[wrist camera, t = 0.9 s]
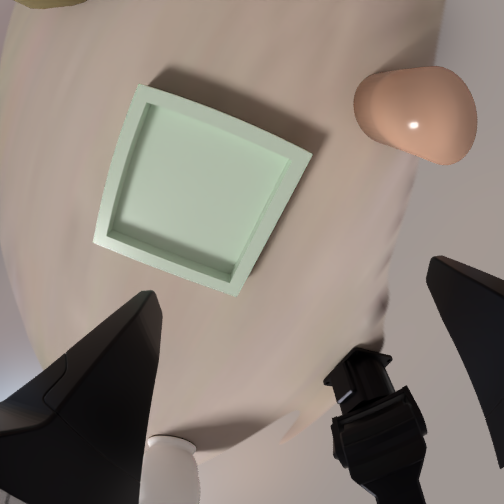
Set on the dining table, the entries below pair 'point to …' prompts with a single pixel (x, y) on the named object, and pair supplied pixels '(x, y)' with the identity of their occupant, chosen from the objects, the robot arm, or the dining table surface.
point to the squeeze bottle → (49, 3)
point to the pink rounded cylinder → (418, 112)
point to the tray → (195, 189)
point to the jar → (169, 472)
